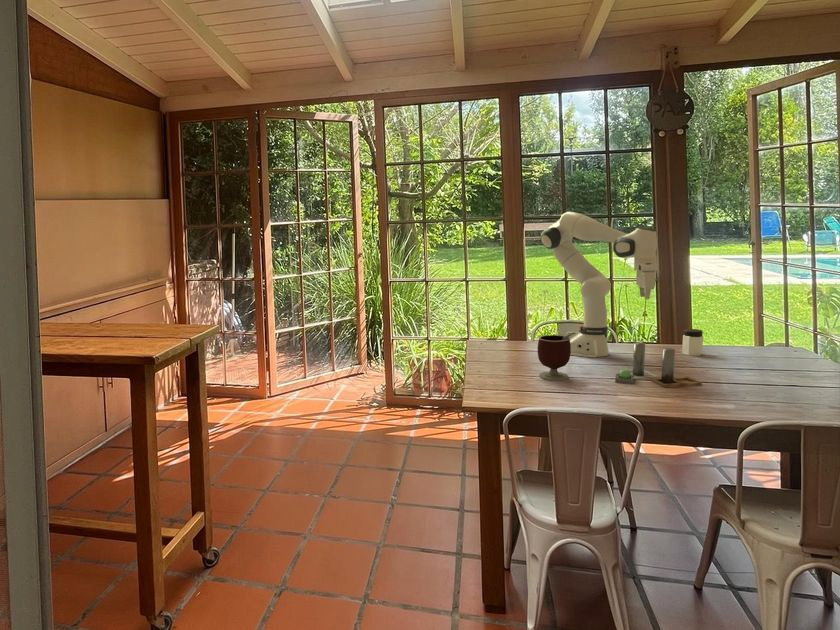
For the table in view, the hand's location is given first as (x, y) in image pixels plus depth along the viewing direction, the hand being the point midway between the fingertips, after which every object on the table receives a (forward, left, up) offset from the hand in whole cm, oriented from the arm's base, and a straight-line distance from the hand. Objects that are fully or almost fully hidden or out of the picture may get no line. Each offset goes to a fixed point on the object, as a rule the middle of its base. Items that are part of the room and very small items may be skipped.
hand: (644, 297), depth 229 cm
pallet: (+13, -18, -33) cm, 40 cm away
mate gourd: (-34, -19, -33) cm, 51 cm away
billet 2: (+9, -20, -32) cm, 39 cm away
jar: (+23, +41, -33) cm, 58 cm away
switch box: (-6, -21, -33) cm, 39 cm away
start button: (-6, -21, -31) cm, 38 cm away
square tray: (-1, -9, -33) cm, 34 cm away
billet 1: (-1, -9, -32) cm, 33 cm away
